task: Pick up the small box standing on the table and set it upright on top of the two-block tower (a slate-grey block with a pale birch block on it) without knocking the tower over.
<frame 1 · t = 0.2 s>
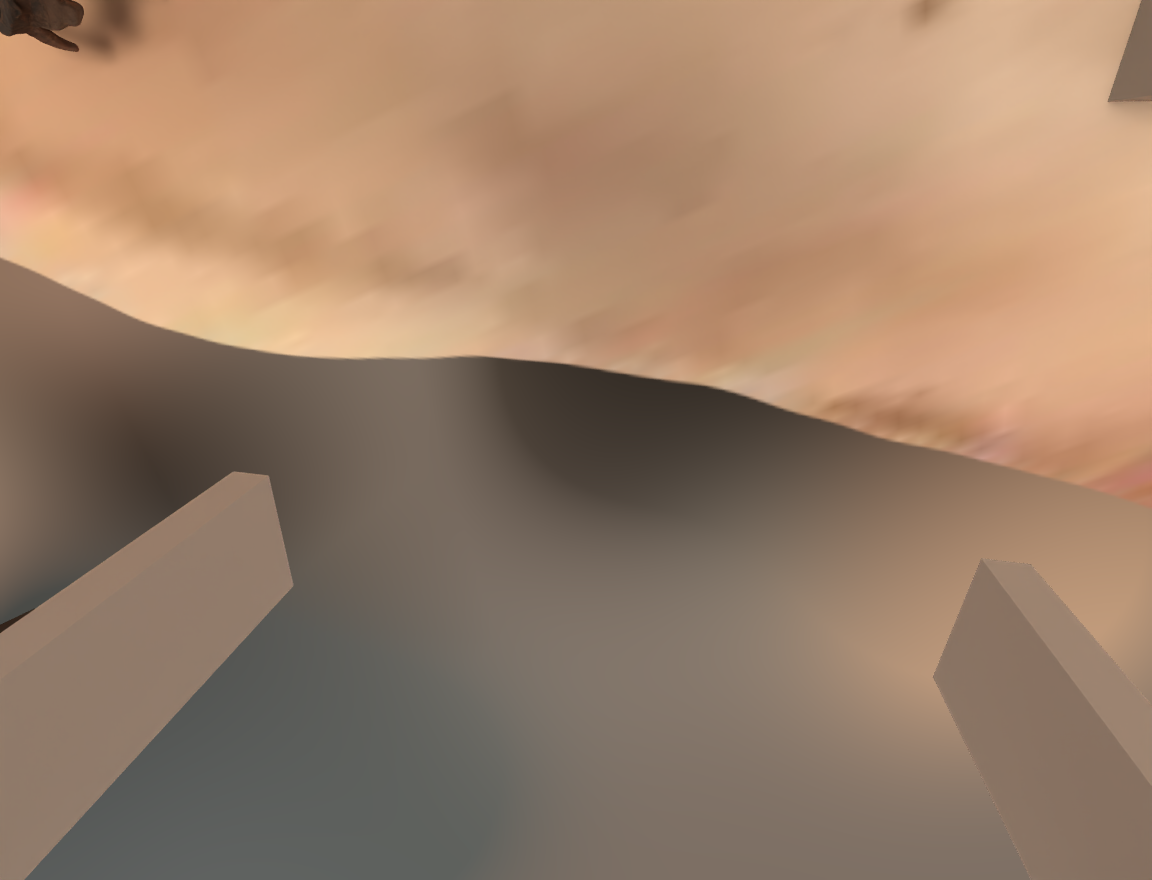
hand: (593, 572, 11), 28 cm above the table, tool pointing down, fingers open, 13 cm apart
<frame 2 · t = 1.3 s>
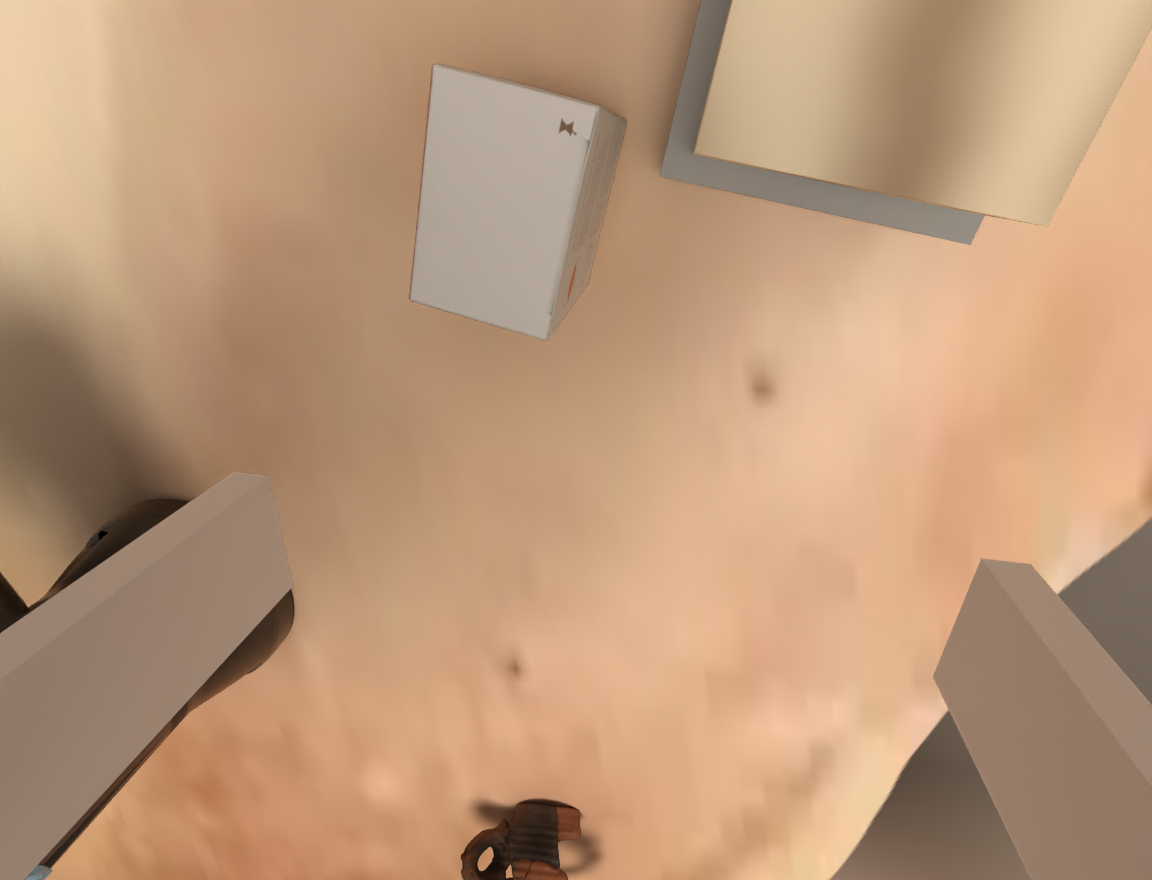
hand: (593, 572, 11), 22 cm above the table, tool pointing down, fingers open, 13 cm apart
block base: (837, 52, 25), on the table
block top: (878, 22, 20), point 6 cm above the table
small box: (555, 194, 29), on the table
pottery mug: (540, 827, 52), on the table
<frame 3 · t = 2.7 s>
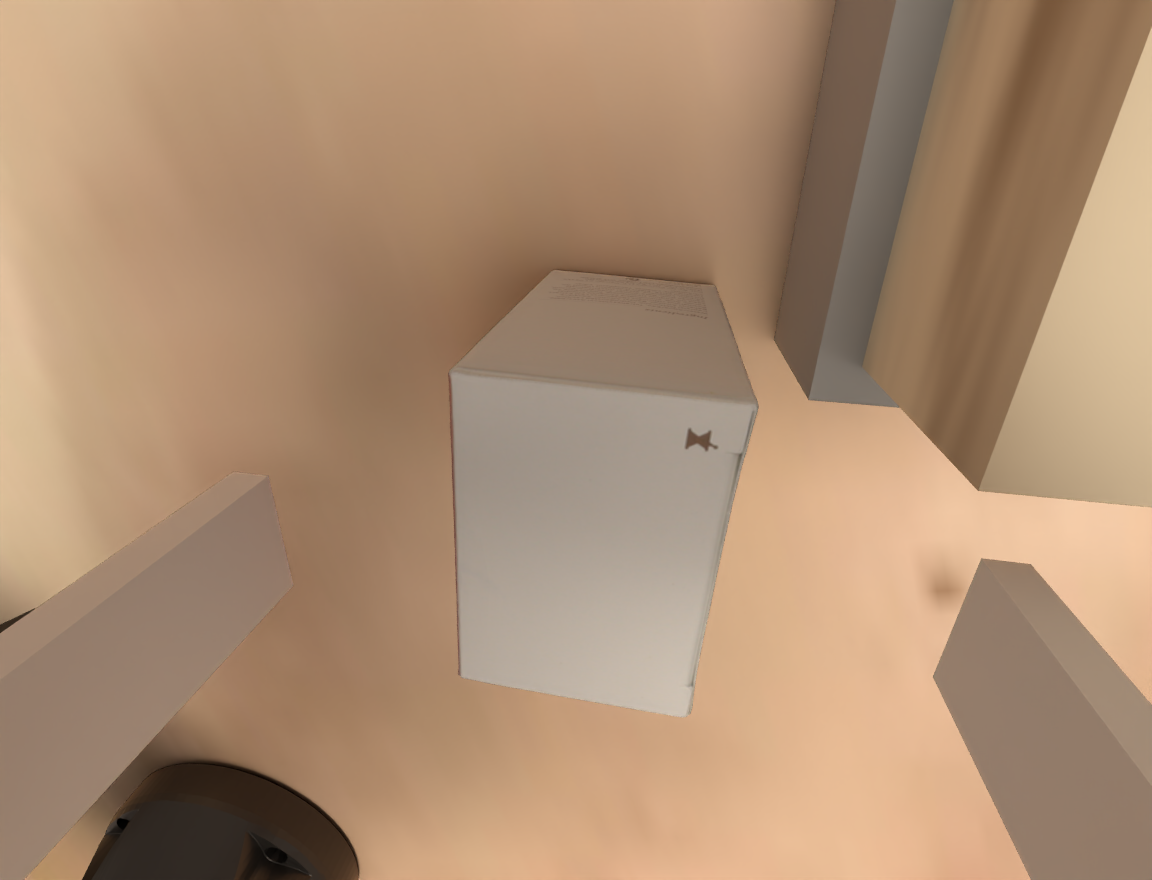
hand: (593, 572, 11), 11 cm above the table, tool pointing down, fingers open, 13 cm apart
block base: (1027, 146, 17), on the table, touching block top
small box: (622, 385, 21), on the table
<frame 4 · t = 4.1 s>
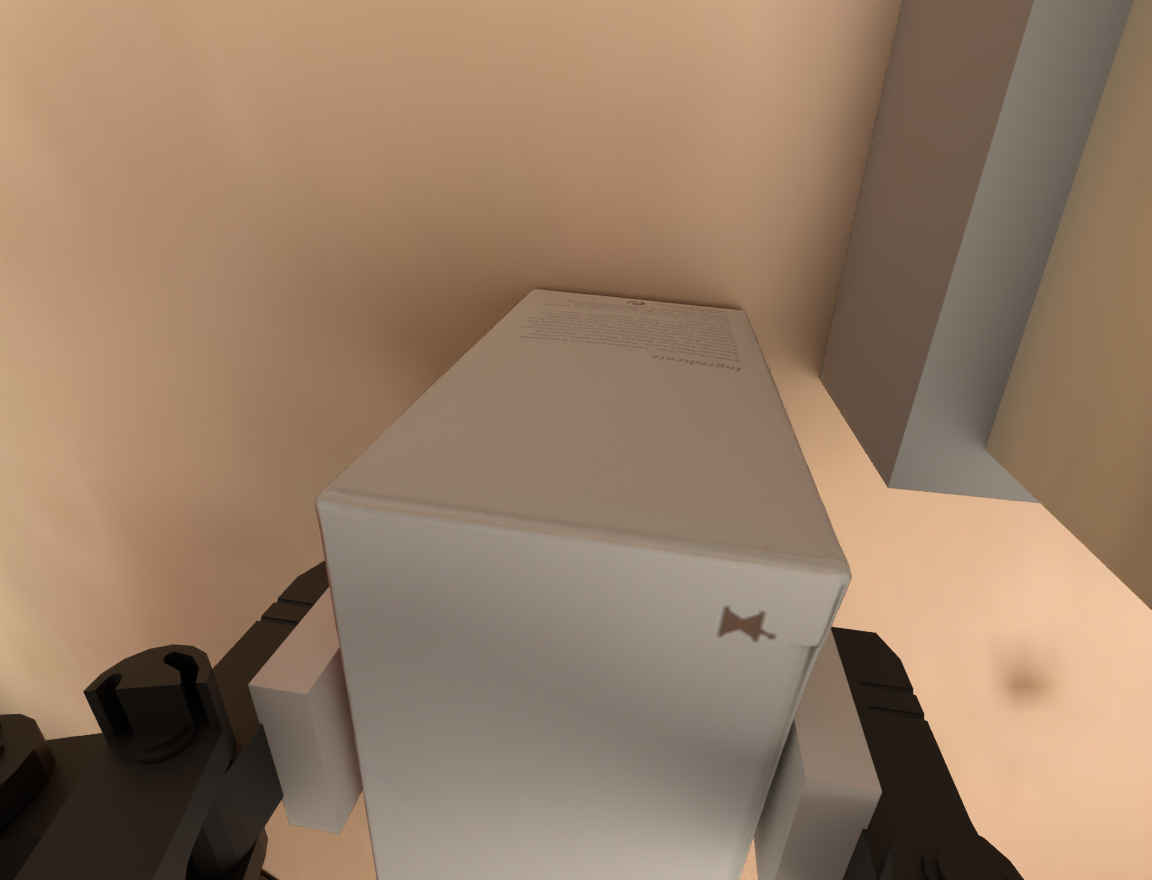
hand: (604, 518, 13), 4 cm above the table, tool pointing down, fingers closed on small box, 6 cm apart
small box: (623, 432, 17), on the table, touching gripper
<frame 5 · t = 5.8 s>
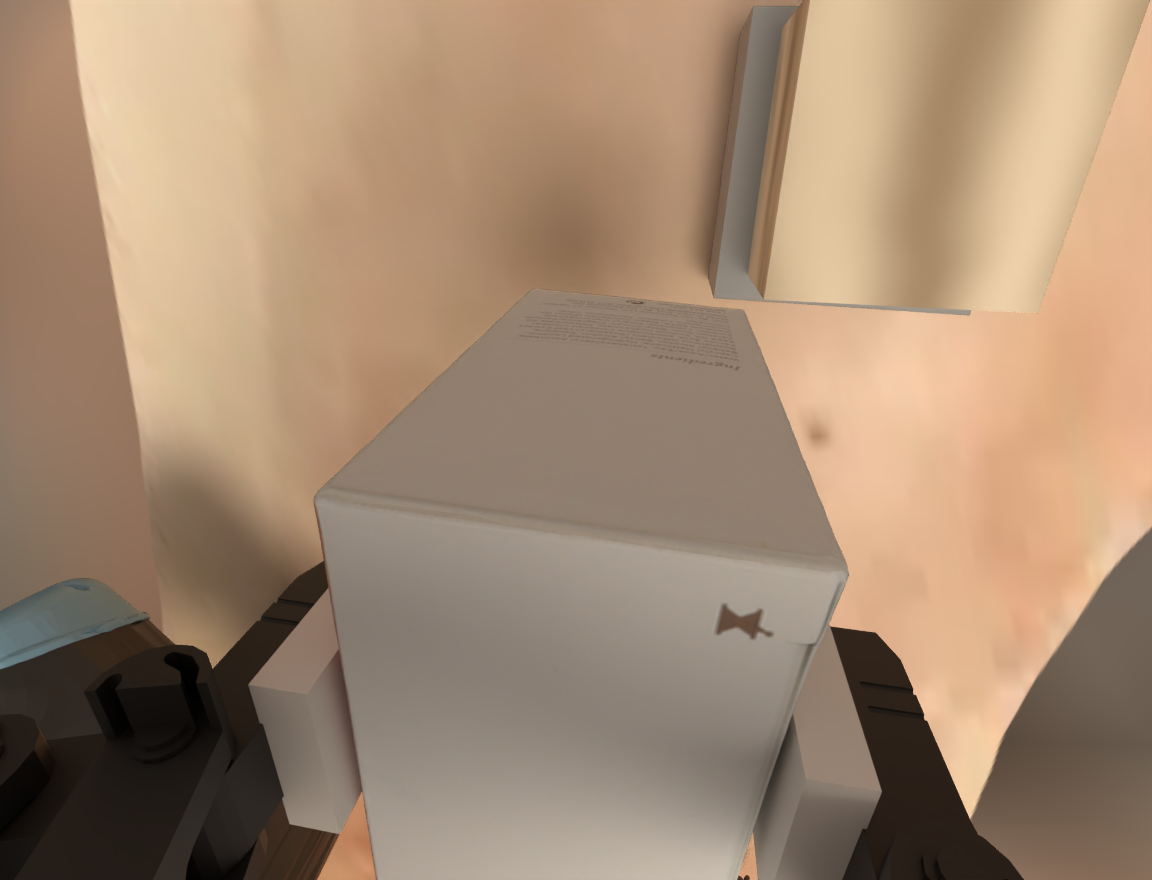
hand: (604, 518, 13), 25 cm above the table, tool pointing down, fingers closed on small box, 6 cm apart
block base: (836, 170, 31), on the table, touching block top
block top: (879, 163, 26), point 6 cm above the table, touching block base
small box: (623, 431, 17), point 21 cm above the table, touching gripper
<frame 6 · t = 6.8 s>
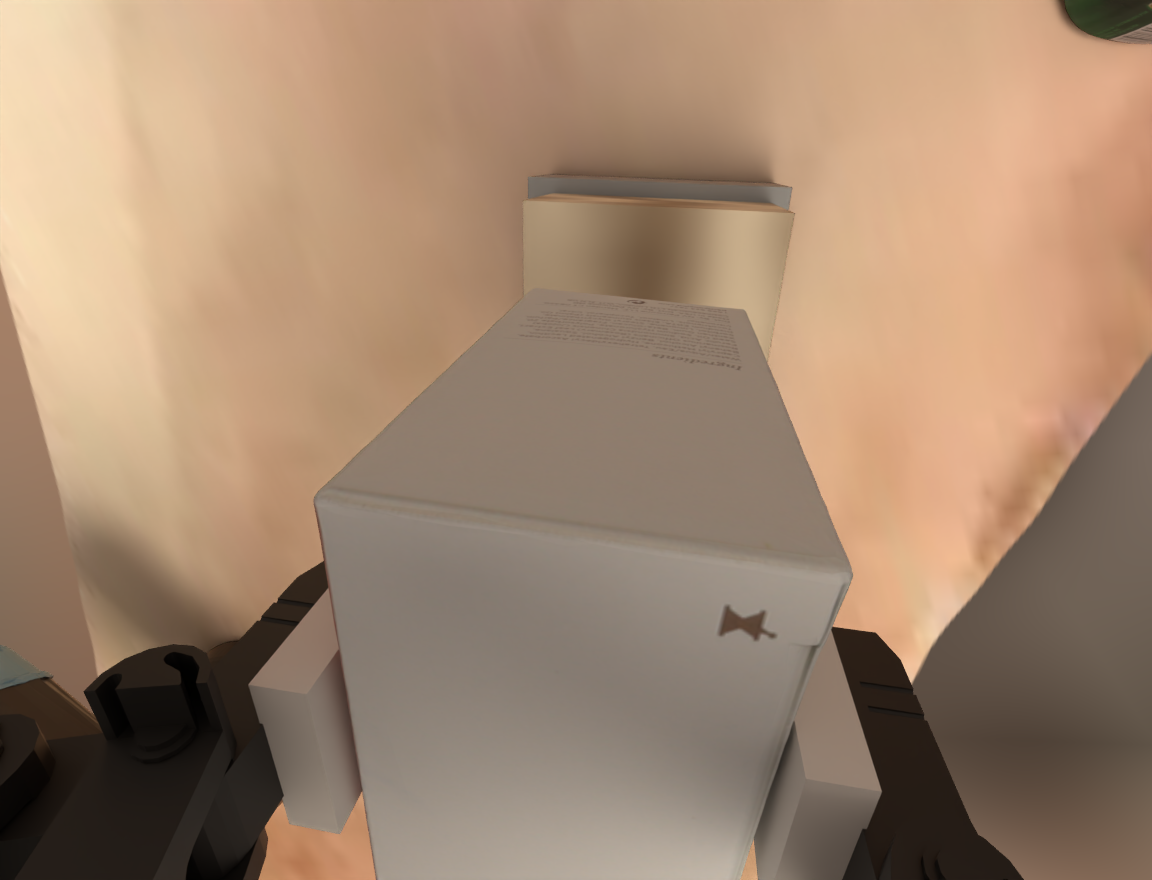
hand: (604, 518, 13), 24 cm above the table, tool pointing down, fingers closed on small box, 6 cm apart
block base: (650, 289, 35), on the table, touching block top
block top: (650, 306, 29), point 6 cm above the table, touching block base
small box: (623, 431, 17), point 20 cm above the table, touching gripper
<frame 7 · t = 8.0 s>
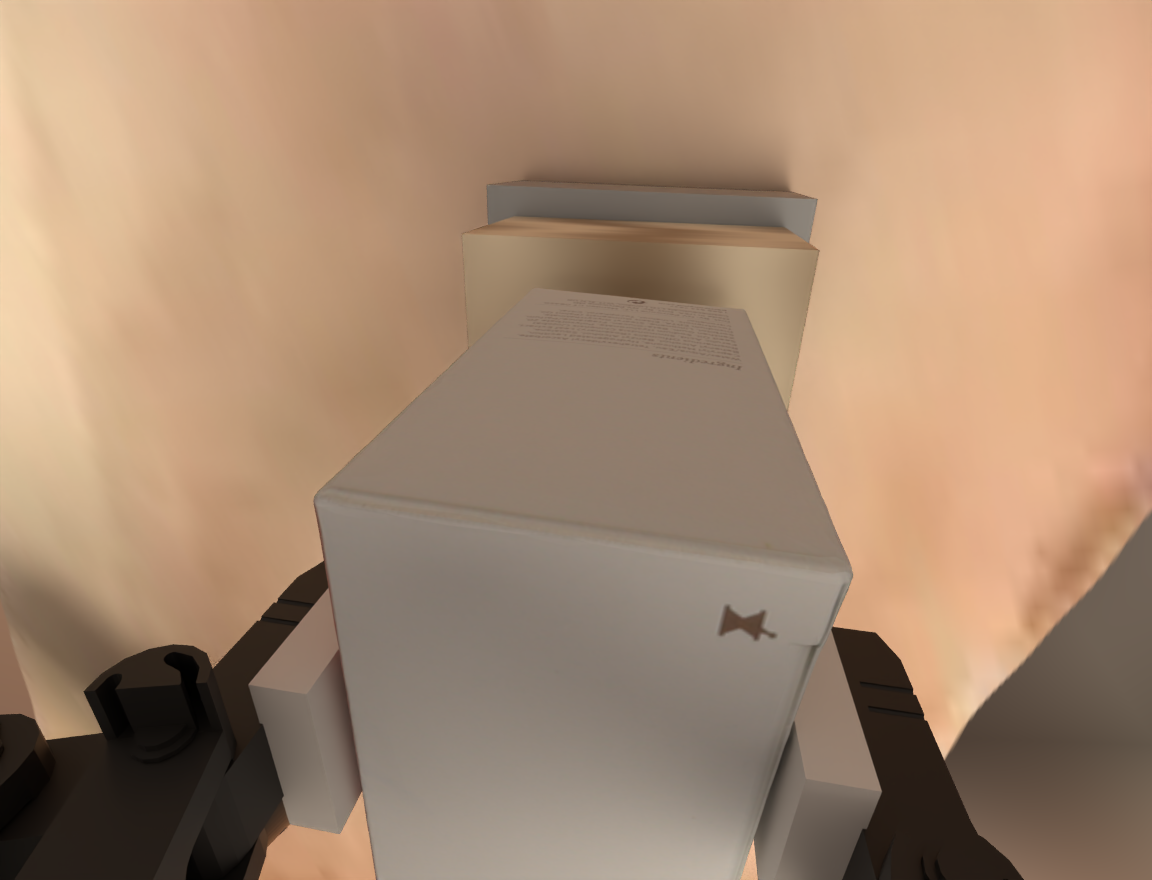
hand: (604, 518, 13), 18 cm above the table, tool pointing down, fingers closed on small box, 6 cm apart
block base: (642, 316, 29), on the table, touching block top
block top: (636, 351, 24), point 6 cm above the table, touching block base
small box: (623, 431, 17), point 13 cm above the table, touching gripper
when the fingers open (17 cm above the table, at t = 8.5 s): small box drops 1 cm, resting on block top.
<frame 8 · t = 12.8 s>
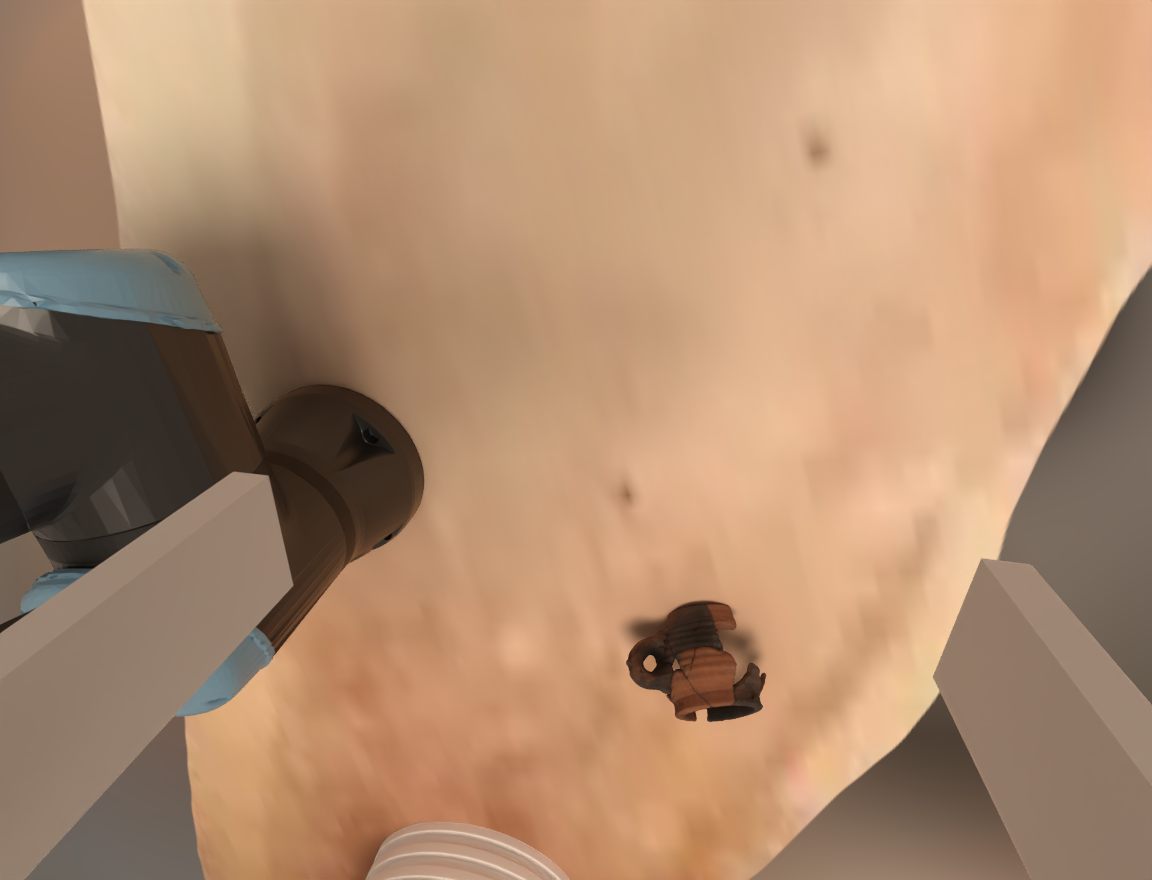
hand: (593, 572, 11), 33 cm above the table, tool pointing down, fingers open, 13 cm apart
pottery mug: (695, 639, 54), on the table
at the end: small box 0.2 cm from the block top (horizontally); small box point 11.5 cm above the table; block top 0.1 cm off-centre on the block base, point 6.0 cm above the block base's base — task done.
